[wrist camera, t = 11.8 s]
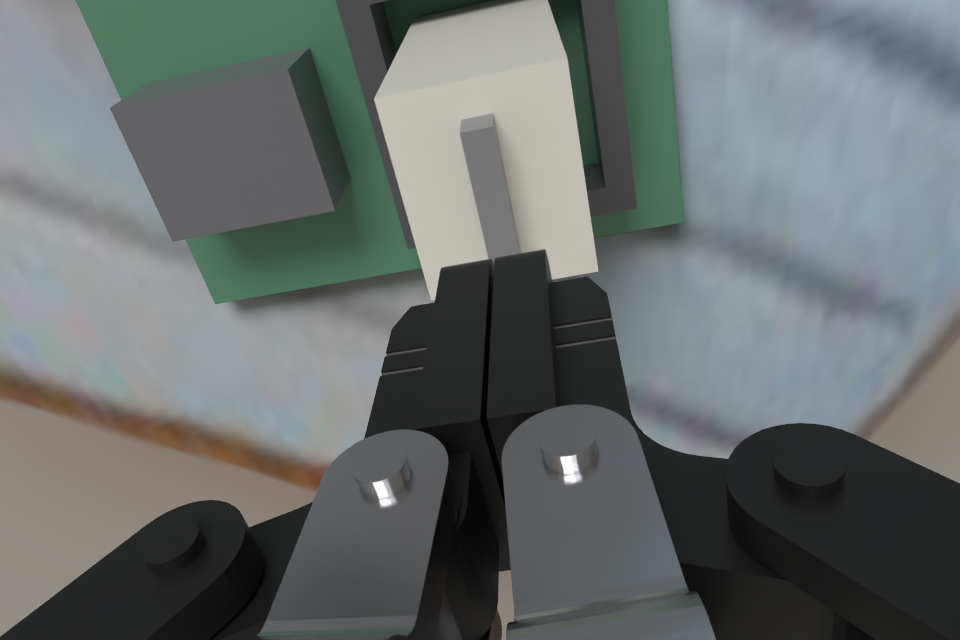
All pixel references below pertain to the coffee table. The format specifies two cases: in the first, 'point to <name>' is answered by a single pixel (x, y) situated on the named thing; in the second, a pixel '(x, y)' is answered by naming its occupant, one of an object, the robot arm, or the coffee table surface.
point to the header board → (348, 127)
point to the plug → (487, 139)
